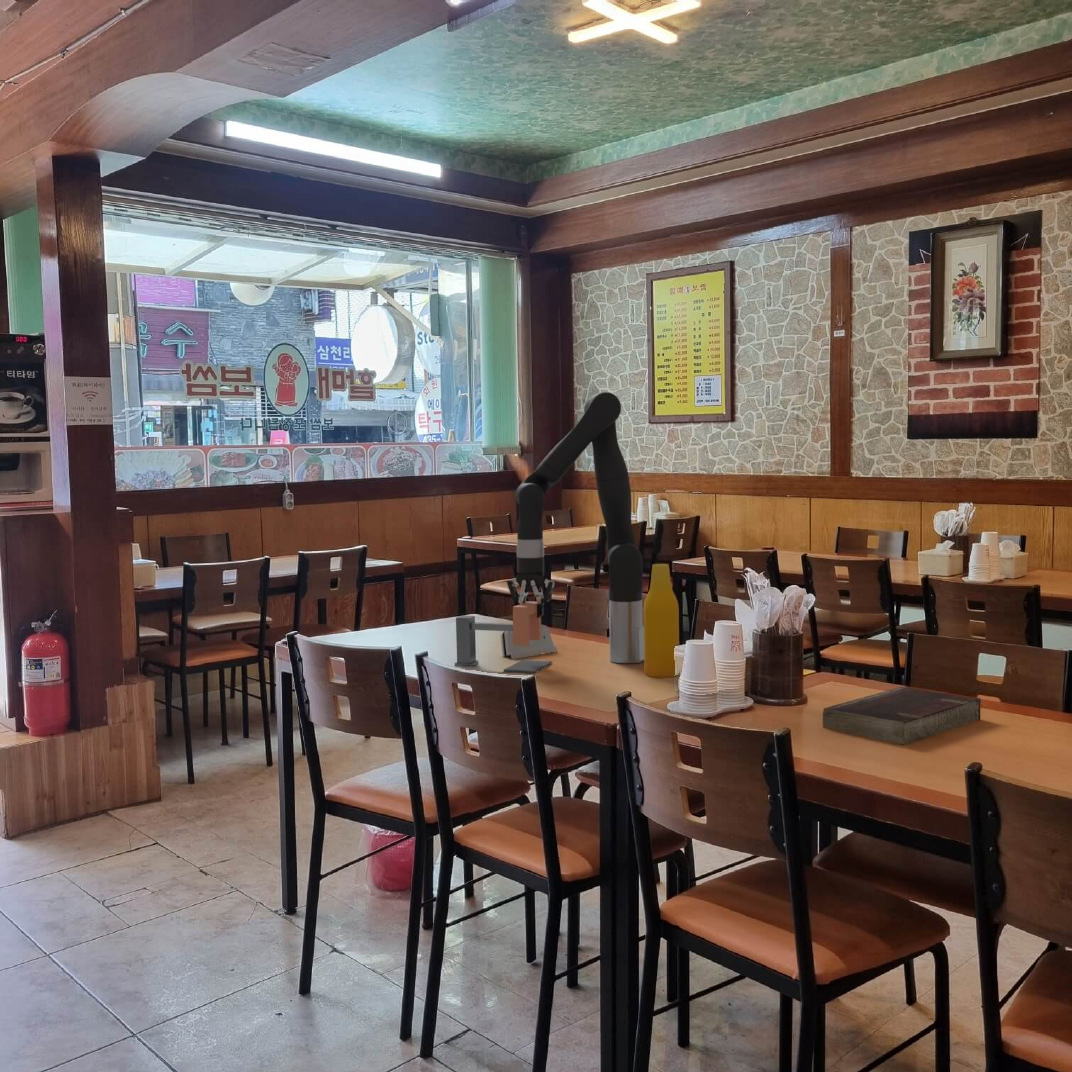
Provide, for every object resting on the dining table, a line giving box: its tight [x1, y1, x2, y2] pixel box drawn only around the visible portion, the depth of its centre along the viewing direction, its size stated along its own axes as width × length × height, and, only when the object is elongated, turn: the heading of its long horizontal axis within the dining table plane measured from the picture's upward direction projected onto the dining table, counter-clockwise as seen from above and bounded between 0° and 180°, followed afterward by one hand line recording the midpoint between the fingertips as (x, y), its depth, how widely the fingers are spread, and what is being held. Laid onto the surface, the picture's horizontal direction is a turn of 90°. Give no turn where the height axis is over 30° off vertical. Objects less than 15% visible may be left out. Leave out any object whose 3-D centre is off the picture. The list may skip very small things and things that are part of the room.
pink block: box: [512, 600, 542, 646], centre depth 285 cm, size 4×11×10 cm, turn 160°
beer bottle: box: [643, 563, 680, 679], centre depth 272 cm, size 9×9×29 cm
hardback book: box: [822, 686, 981, 746], centre depth 218 cm, size 29×19×5 cm, turn 129°
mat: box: [503, 659, 553, 674], centre depth 286 cm, size 9×14×1 cm, turn 160°
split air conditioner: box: [500, 624, 558, 660], centre depth 307 cm, size 17×5×10 cm, turn 125°
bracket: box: [454, 615, 513, 668], centre depth 290 cm, size 18×5×14 cm, turn 70°
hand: (531, 616), depth 288 cm, fingers closed on pink block, 4 cm apart
